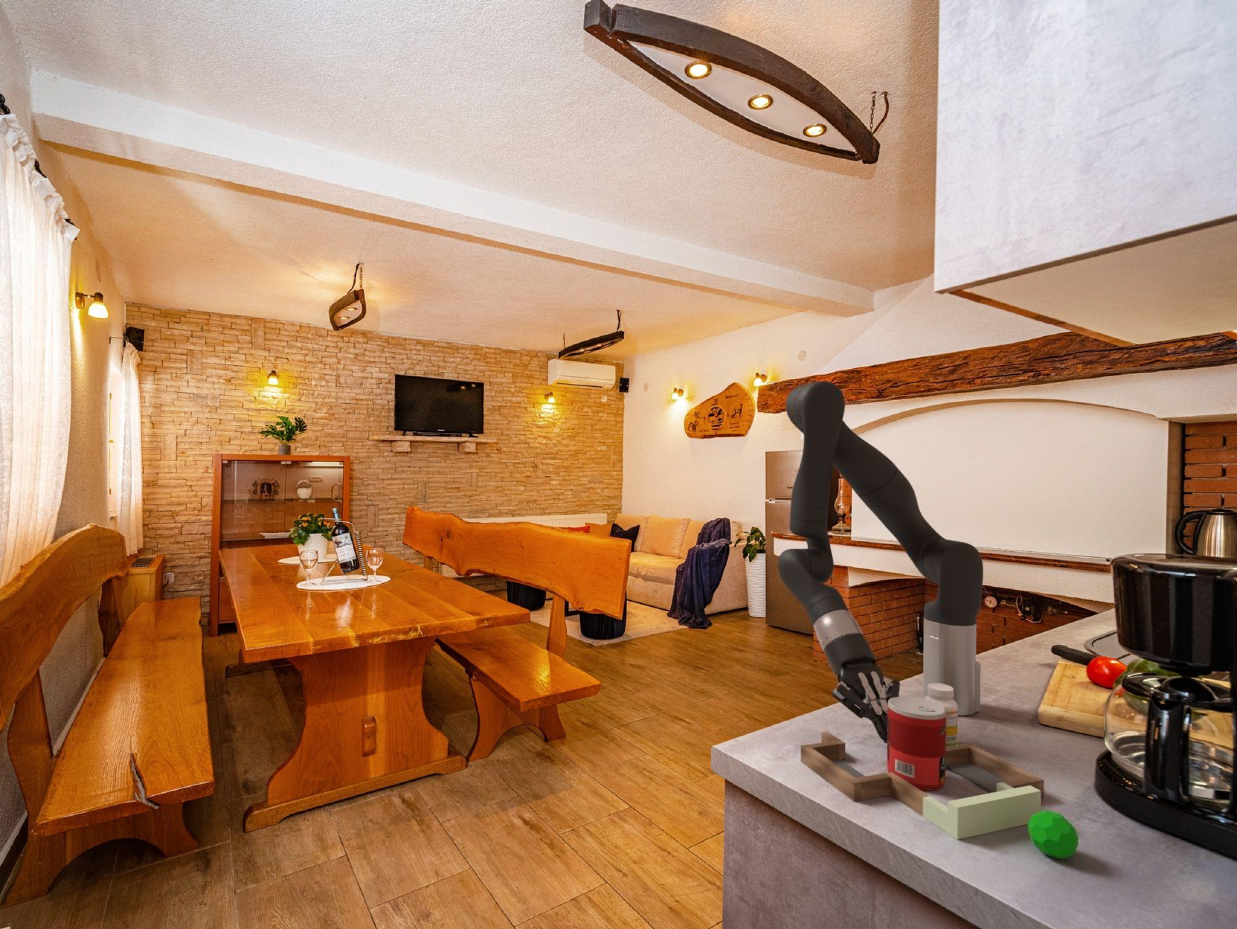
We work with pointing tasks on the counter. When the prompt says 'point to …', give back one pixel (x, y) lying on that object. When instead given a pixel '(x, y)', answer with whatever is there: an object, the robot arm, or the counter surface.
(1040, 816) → the polyhedron
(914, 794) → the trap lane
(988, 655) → the counter surface
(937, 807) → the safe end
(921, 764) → the canned food
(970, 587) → the robot arm
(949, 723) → the supplement bottle
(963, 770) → the mats
